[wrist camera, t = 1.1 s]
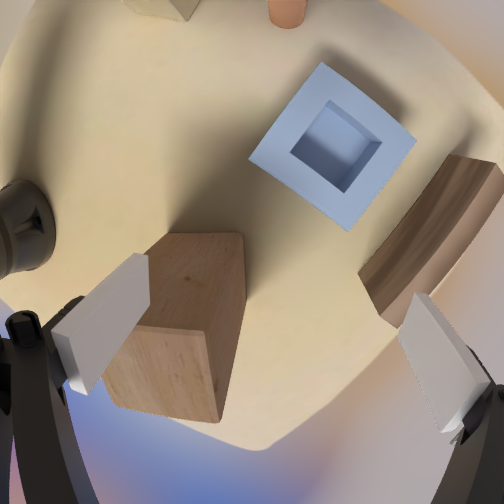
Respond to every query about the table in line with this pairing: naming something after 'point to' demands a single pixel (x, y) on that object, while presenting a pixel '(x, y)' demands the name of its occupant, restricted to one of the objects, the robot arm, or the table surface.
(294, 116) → the socket block
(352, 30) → the table surface
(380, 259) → the wall
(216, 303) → the wooden block
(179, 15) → the toy refrigerator
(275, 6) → the dowel
